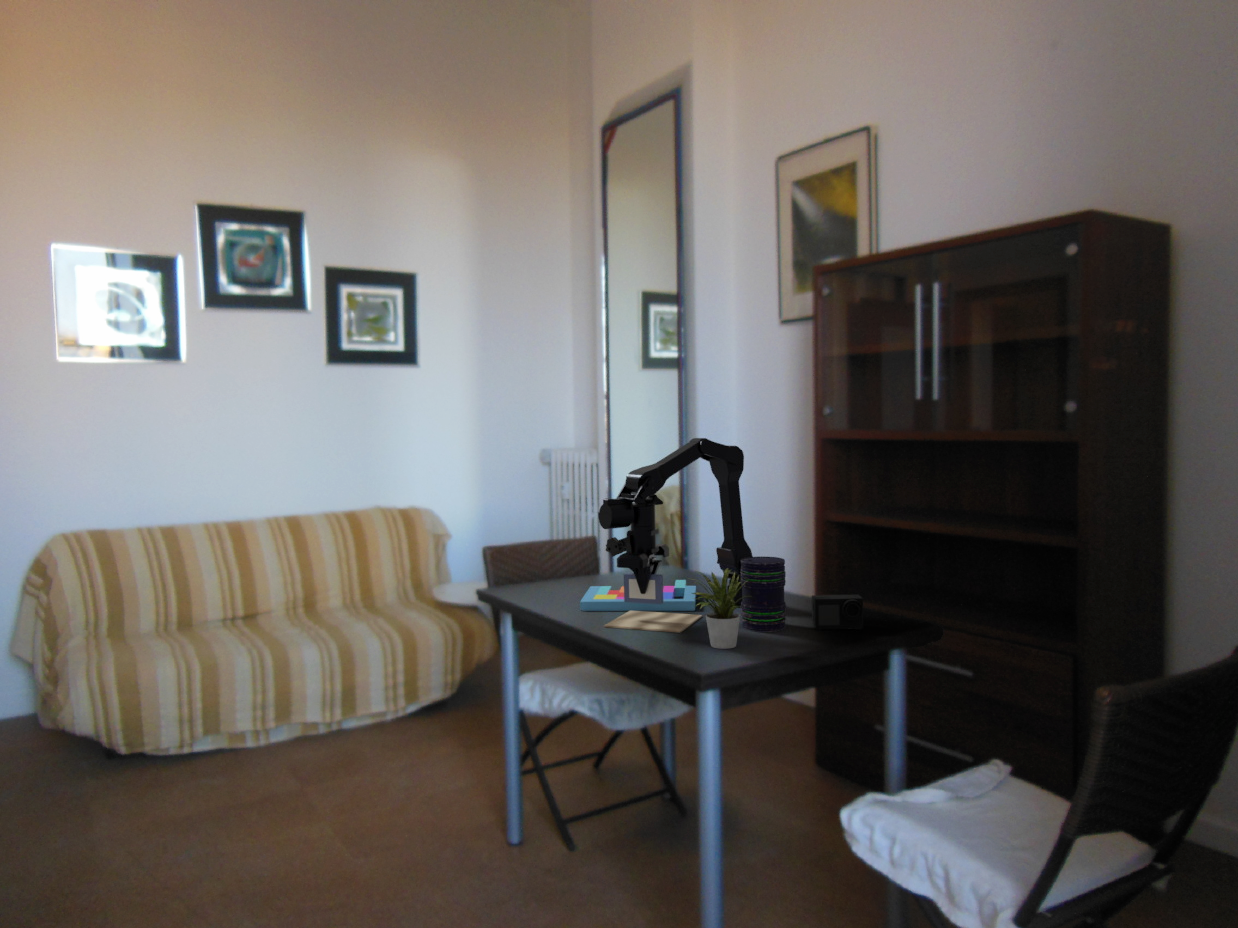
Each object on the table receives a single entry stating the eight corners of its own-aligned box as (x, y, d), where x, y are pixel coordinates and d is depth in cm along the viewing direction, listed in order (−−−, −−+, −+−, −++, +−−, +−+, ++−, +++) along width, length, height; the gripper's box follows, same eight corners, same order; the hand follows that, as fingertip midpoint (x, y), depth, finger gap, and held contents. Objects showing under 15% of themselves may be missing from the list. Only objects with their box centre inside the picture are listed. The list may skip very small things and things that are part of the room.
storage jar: (786, 622, 202) (785, 556, 201) (786, 632, 193) (785, 563, 192) (742, 621, 204) (741, 556, 203) (740, 631, 194) (738, 563, 194)
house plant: (690, 634, 193) (688, 559, 192) (755, 635, 190) (754, 559, 190) (684, 652, 179) (682, 571, 178) (754, 653, 176) (753, 571, 176)
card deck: (663, 602, 205) (662, 574, 204) (660, 604, 203) (660, 575, 203) (626, 600, 208) (626, 572, 208) (624, 602, 207) (623, 574, 206)
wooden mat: (701, 616, 210) (701, 614, 210) (680, 632, 195) (680, 630, 195) (630, 611, 216) (630, 610, 216) (604, 627, 202) (604, 625, 202)
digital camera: (816, 632, 193) (816, 599, 192) (811, 626, 198) (811, 594, 198) (864, 631, 193) (864, 598, 192) (858, 625, 198) (858, 593, 198)
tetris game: (695, 612, 216) (696, 589, 244) (694, 601, 216) (696, 579, 244) (580, 612, 219) (594, 590, 247) (580, 601, 219) (594, 580, 247)
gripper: (625, 519, 216) (627, 583, 217) (594, 529, 199) (596, 599, 200) (669, 520, 212) (670, 585, 213) (641, 531, 195) (642, 601, 196)
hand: (644, 592), depth 206 cm, fingers closed on card deck, 2 cm apart
